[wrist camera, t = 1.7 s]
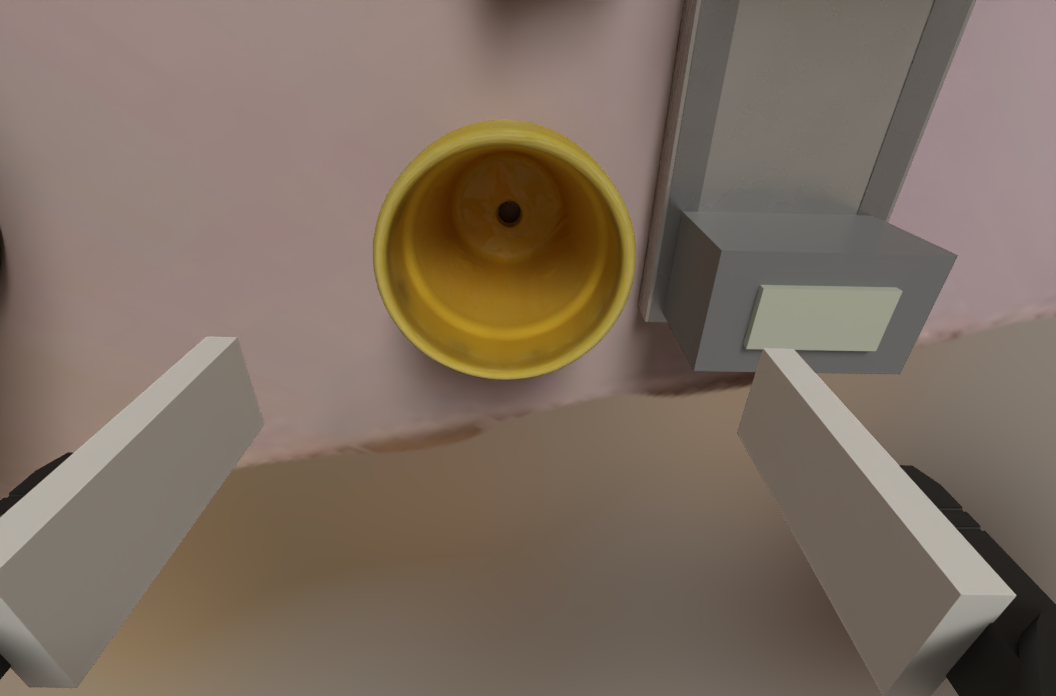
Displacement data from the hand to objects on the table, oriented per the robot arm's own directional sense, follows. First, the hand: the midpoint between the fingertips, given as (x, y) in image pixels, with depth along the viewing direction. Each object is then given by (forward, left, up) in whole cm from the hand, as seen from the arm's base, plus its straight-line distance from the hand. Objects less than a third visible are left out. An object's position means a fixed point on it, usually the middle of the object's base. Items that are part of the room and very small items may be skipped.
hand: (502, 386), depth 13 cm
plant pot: (0, 0, -18) cm, 18 cm away
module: (+14, -2, -15) cm, 21 cm away
